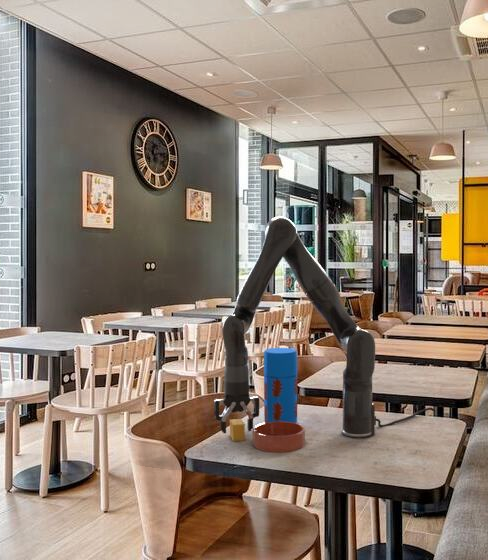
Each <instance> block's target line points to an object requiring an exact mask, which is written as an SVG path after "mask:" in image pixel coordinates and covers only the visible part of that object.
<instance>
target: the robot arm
mask: <svg viewBox="0 0 488 560" xmlns="http://www.w3.org/2000/svg"><path fill="white" fill-rule="evenodd" d="M264 231H265V232H264V233H265V238H264V241H263V245H262V247H261V250H260V252H259V255H258V257H257V259H256V261H255V263H254V265H253V267H251V269H250V272H249V273H248V275H247V276H246V278H245V280H244V282H243V284H242V286H241V288H240V291H239V292H238V295H237V297H236V301H235V303H236V304H235V306H234V309H233V311H232V313H231V314H230V315H228V316H227V317H226V318H225V319H224V320H223V321H222V325H221V333H222V334H221V335H222V341H223V346H224V369H223V370H224V371H223V372H224V373H223V379H224V381H223V383H224V384H223V385H224V387H223V389H224V393H223V394H224V396H223V398H222V399H221V398H220V399H218V398H214V400H213V406H214V407H213V411H214V413H213V414H214V419H215V420H216V421H220V431H221V433H223V434H227V421H226V420H227V419H228V417H229V416H230V414H231V413H237V412H238V413H242V412H244V413H245V414H246V416H247V431H248V432H252V430H253V428H254V419H255V418H258V417H259V416H260V397H258V396H257V395H254V396H250V370H249V350H248V347H247V346H246V340H245V335H246V334H247V333H248V331H249V330H250V328H251V326H252V324H253V321H254V319H255V315H256V312H257V309H258V308H259V306H260V304H261V302H262V300H263V297H264V296H265V294H266V291H267V289H268V287H269V284H270V282H271V280H272V278H273V275H274V273H275V271H276V269H277V268H278V266H279V265H280V263H281V260H282V259H284V260H285V262H286V263H287V265H288V267H289V268H290V270H291V272H292V274H293V276H294V279H295V280H296V282H297V284H298V285H299V287H300V289H301V291H302V292H303V294H304V295H305V297H306V298H307V299H308V301H309V302H310V303H311V305H312V307H314V309H315V310H316V311H317V313H318V314H319V315H320V317H321V318H322V319H323V320H324V321H325V323H326V324H327V325H328V326H329V328H330V330H331V332H332V334H333V336H334V337H335V339H336V341H337V343H338V344H339V346H340V348H341V350H342V351H343V352H344V353H345V354H346V365H345V368H344V369H343V371H342V435H344V436H346V437H349V438H359V439H360V438H368V437H371V436H375V435H376V434H375V433H376V432H375V431H376V426H378V427H379V428H382V427H387V426H392V425H394V424H396V423H397V424H398V423H401V422H404V421H407V420H410V419H412V418H414V417H416V416H417V415H419V414H421V413H424V412H427V411H432V412H436V410H435V408H433V407H426V408H424V409H422V410H419V411H416V412H414V413H413V414H411V415H409V416H406V417H403V418H400V419H396V420H393V421H391V422H388V423H386V424H381V423H382V422H381V419H379V418H377V416H376V405H375V404H374V403H373V374H374V372H375V368H376V341H375V340H376V339H375V337H374V335H372V333H371V332H369V331H368V330H367V329H363V328H361V327H360V326H359V325H358V324H357V323H356V322H355V320H354V319H353V318H352V316H351V315H350V314H349V312H348V311H347V309H346V307H345V305H344V302H343V299H342V296H341V293H340V292H339V289H338V288H337V286H336V284H335V283H334V282H333V280H332V279H331V277H330V275H329V274H328V273H327V271H326V270H325V269H324V268H323V267H322V265H321V264H320V263H319V261H318V260H317V259H316V258H315V257H314V256H313V255H312V254H311V253H310V251H309V250H308V249H307V247H306V246H305V244H304V242H303V241H302V238H301V237H300V235H299V234H298V231H297V228H296V225H295V224H294V222H292V220H290V219H289V218H287V217H285V216H275V217H273V218H271V219H270V220H269V221H268V223H267V224H266V226H265V230H264ZM250 403H251V404H252V405H253V412H251V411H250V409H249V408H248V406H249V404H250ZM223 404H224V406H225V407H224V410H223V412H222V413H221V415H220V408H221V407H222V405H223ZM435 512H436V513H438V512H439V502H436V503H435Z"/></svg>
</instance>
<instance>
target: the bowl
mask: <svg viewBox="0 0 488 560" xmlns="http://www.w3.org/2000/svg"><path fill="white" fill-rule="evenodd" d="M252 444H253V446H254V448H256V449H258V450H261V451H263V452H270V453H286V452H293V451H297V450H300V449H301V448H303V447H304V446H305V444H306V428H305V426H304V425H303V424H300V423H298V422H297V423H294V422H286V421H274V422H266V423H265V422H262V423H259V424H257V425H255V426H253V429H252Z"/></svg>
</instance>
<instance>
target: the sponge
mask: <svg viewBox="0 0 488 560" xmlns="http://www.w3.org/2000/svg"><path fill="white" fill-rule="evenodd" d="M245 429H246V428H245V423H244V421H243V420H242V419H241V418H233V419H229V436H230V438H231V439H232V442H240V441H245V440H246V438H245V437H246V431H245Z"/></svg>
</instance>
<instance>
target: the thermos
mask: <svg viewBox="0 0 488 560" xmlns="http://www.w3.org/2000/svg"><path fill="white" fill-rule="evenodd" d="M263 411H264V412H263V415H264V417H263V418H264V423H266V422H274V421H286V422H294V423H298V352H297V349H295V348H290V347H273V348H271V347H270V348H266V349H264V352H263Z"/></svg>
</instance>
